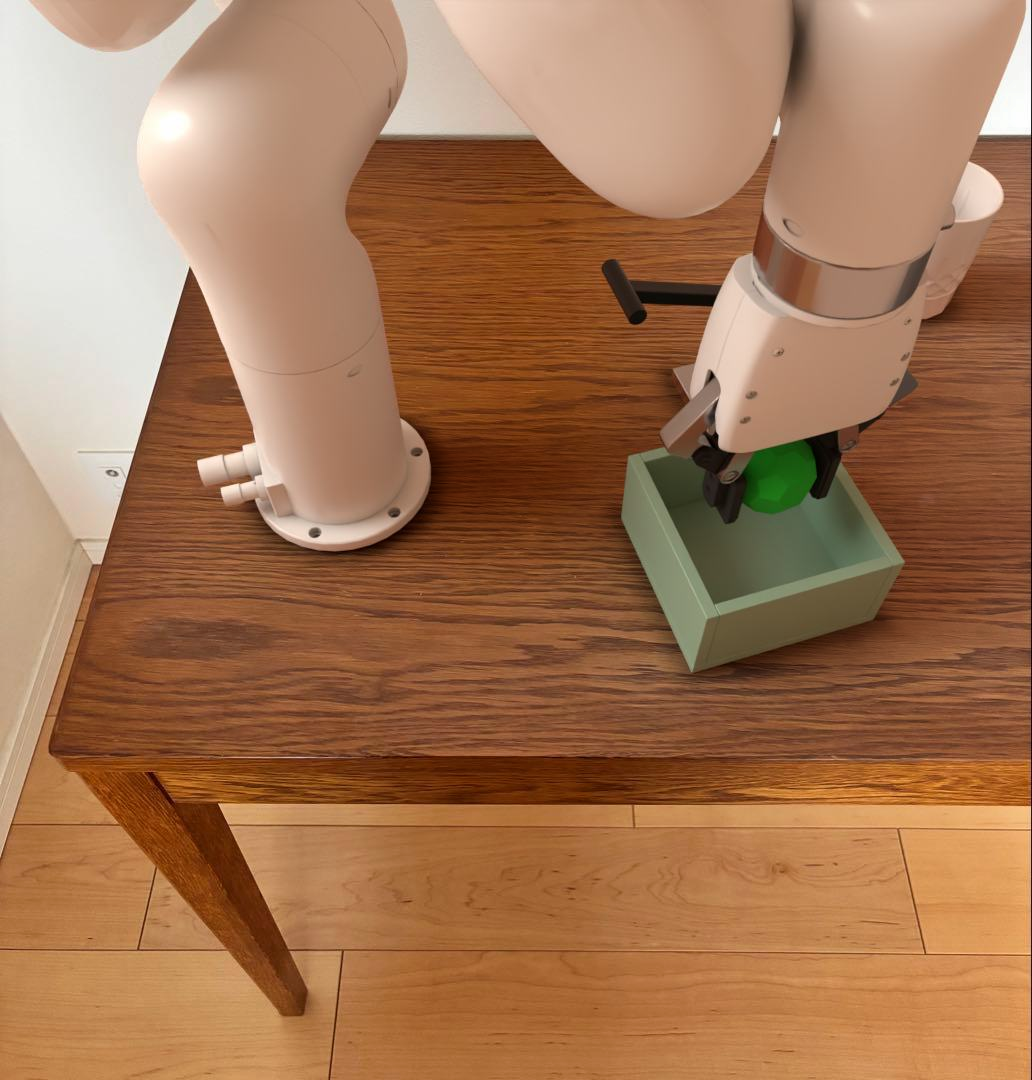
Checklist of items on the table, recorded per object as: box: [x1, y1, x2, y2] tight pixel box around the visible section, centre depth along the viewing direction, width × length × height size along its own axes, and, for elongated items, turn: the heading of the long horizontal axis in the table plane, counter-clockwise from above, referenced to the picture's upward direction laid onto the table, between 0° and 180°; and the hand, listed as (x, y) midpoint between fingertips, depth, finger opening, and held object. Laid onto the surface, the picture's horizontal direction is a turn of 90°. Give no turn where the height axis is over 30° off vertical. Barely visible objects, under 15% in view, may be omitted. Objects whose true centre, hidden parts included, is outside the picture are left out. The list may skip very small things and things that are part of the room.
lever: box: [600, 258, 723, 326], centre depth 64 cm, size 14×5×2 cm, turn 107°
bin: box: [620, 446, 906, 674], centre depth 63 cm, size 13×13×7 cm
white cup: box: [921, 160, 1005, 320], centre depth 77 cm, size 8×8×10 cm
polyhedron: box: [742, 439, 817, 514], centre depth 57 cm, size 5×5×5 cm
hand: (765, 491), depth 59 cm, fingers closed on polyhedron, 5 cm apart
